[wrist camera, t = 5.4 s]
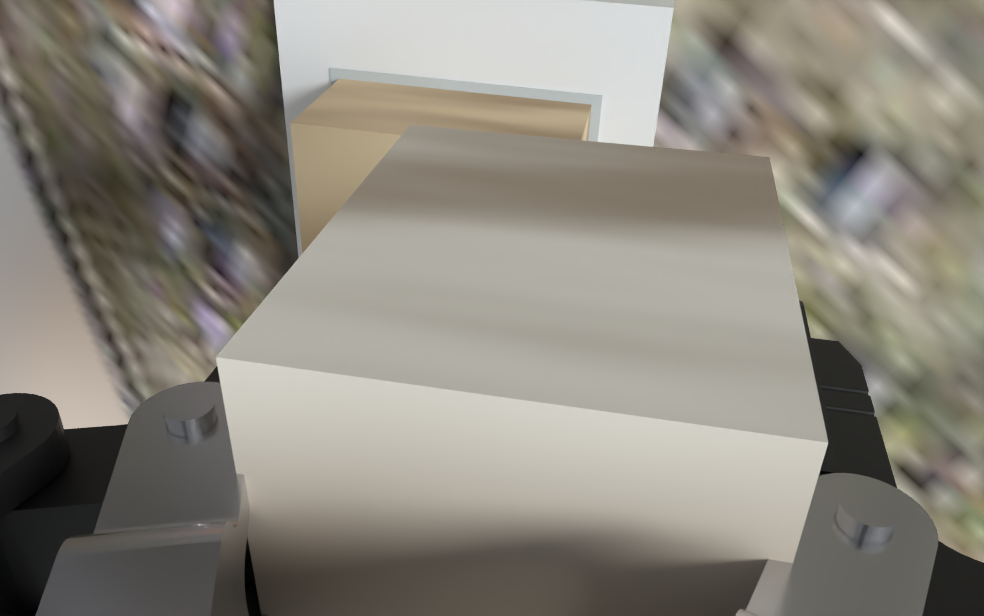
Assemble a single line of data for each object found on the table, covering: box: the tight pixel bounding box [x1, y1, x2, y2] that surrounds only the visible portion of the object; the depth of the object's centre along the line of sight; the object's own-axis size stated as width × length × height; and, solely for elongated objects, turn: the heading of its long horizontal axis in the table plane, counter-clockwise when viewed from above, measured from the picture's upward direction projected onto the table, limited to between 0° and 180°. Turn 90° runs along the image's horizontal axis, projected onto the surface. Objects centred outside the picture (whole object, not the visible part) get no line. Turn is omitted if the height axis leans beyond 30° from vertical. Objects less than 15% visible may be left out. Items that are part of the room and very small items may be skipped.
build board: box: [274, 0, 674, 257], centre depth 29 cm, size 14×12×1 cm
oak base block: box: [290, 79, 592, 254], centre depth 27 cm, size 8×8×4 cm
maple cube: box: [216, 125, 828, 616], centre depth 11 cm, size 5×5×6 cm
